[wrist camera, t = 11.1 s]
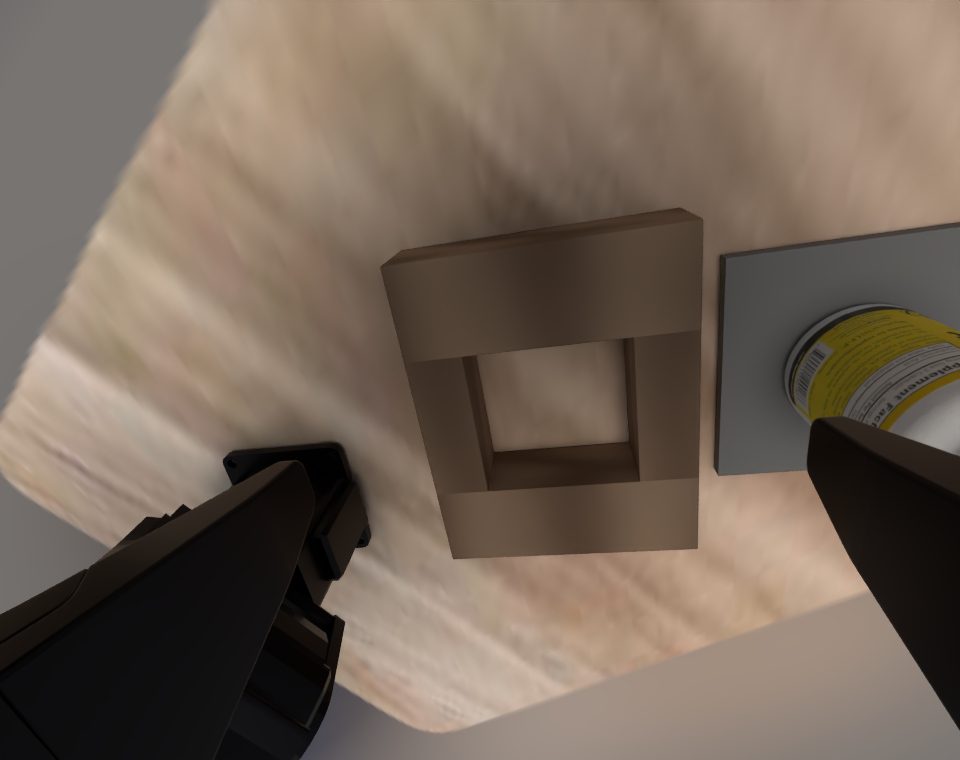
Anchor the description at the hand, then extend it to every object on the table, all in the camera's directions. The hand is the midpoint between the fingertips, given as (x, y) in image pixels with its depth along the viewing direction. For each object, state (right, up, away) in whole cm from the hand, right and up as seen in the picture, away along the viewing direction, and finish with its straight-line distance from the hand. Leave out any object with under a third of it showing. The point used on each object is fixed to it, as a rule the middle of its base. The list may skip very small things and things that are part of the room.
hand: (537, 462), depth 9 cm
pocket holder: (+2, +1, +14) cm, 14 cm away
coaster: (+14, +2, +12) cm, 18 cm away
